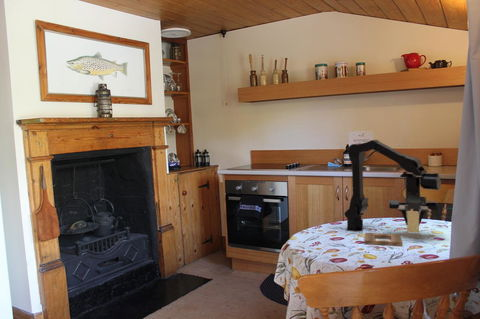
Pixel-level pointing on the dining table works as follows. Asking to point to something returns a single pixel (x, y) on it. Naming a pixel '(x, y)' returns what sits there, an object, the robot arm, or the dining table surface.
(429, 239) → the dining table surface
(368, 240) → the rack plate
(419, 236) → the grey square plate
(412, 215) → the peg block
